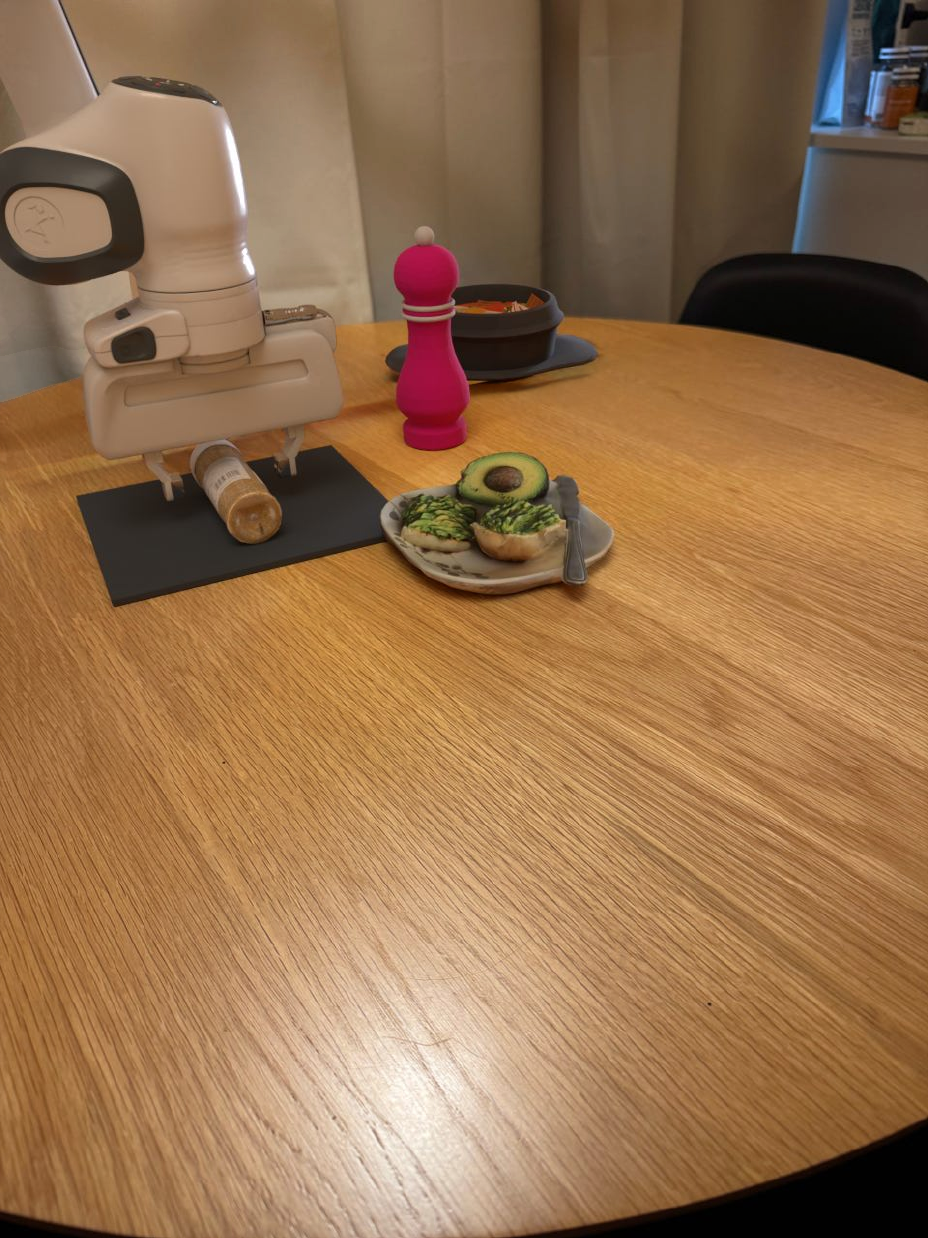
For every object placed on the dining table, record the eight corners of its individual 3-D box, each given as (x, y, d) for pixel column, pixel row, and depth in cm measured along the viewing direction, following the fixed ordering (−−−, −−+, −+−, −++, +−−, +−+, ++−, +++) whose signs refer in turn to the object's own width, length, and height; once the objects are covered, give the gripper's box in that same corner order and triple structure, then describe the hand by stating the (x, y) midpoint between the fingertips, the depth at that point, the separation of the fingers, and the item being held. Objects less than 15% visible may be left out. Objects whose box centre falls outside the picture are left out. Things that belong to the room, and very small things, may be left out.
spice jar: (294, 511, 77) (250, 455, 87) (249, 481, 74) (209, 426, 85) (259, 556, 77) (219, 494, 88) (213, 527, 75) (178, 467, 85)
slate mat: (113, 607, 71) (111, 600, 70) (77, 501, 87) (75, 495, 87) (416, 533, 79) (416, 527, 79) (331, 450, 95) (331, 444, 95)
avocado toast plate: (676, 582, 71) (683, 525, 69) (452, 634, 65) (451, 575, 63) (552, 481, 86) (555, 432, 84) (361, 517, 80) (358, 465, 78)
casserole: (579, 342, 124) (581, 274, 120) (613, 388, 108) (616, 311, 104) (383, 354, 122) (378, 285, 118) (389, 403, 107) (383, 325, 102)
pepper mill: (456, 456, 93) (447, 234, 82) (387, 448, 95) (369, 232, 85) (481, 429, 99) (475, 219, 88) (415, 423, 101) (402, 217, 90)
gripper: (320, 292, 80) (336, 450, 88) (61, 328, 73) (102, 496, 80) (346, 309, 76) (361, 474, 83) (71, 348, 68) (114, 526, 75)
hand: (231, 486), depth 81 cm, fingers open, 8 cm apart
